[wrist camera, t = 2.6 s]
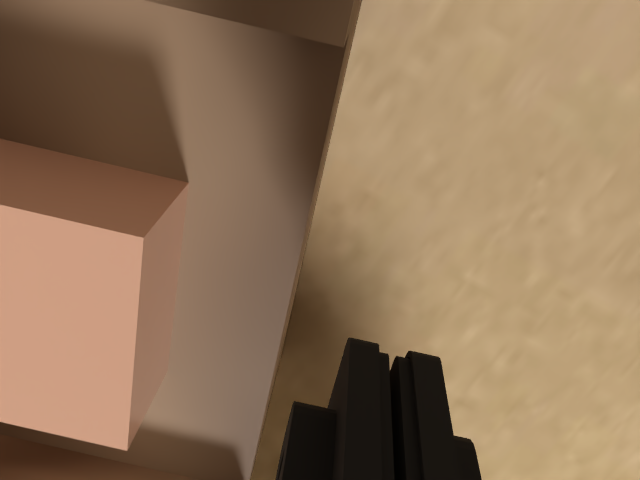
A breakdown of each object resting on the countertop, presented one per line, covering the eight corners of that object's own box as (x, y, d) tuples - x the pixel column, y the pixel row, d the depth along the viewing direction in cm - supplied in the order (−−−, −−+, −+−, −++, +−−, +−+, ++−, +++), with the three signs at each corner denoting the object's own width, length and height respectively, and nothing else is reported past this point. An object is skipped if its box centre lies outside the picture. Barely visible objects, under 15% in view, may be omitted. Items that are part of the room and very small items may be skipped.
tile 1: (188, 183, 12) (143, 238, 10) (167, 371, 14) (127, 450, 12) (-54, 126, 12) (-156, 168, 10) (-36, 323, 14) (-114, 395, 12)
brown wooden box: (370, -40, 16) (359, -24, 8) (280, 356, 22) (228, 569, 15) (-132, -159, 16) (-614, -256, 8) (-77, 273, 22) (-318, 446, 15)
